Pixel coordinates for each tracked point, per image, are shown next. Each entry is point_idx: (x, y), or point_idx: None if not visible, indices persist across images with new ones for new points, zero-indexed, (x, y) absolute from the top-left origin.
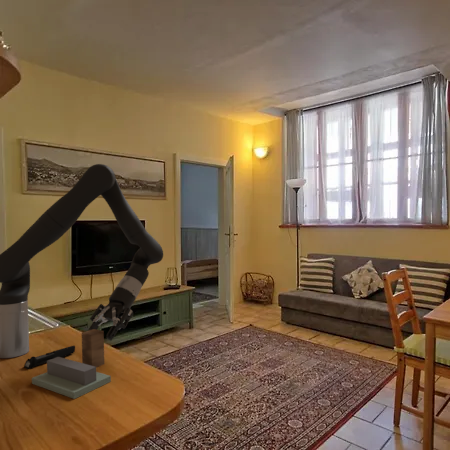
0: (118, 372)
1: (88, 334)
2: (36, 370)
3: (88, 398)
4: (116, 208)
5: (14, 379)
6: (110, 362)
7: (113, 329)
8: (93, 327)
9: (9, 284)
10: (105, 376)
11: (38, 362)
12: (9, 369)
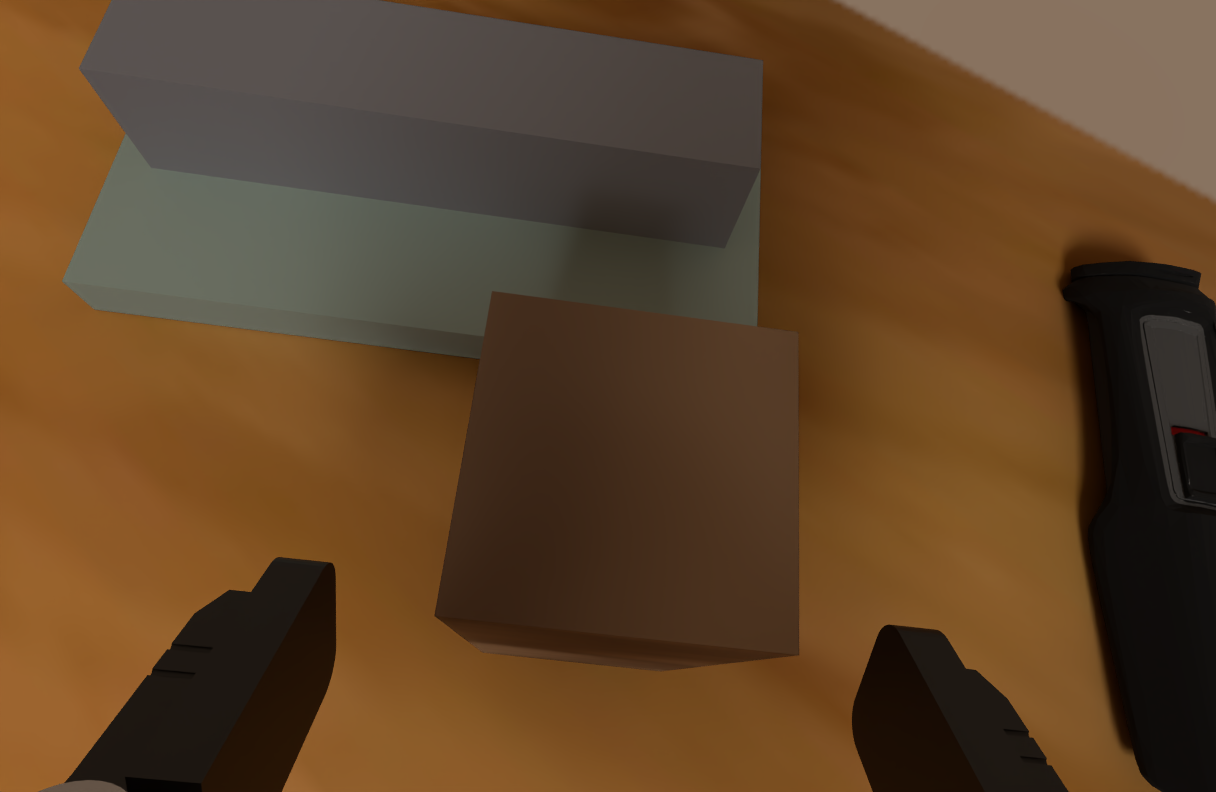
0: (143, 512)
1: (578, 304)
2: (985, 277)
3: None
4: None
5: (949, 112)
6: (444, 728)
7: (141, 729)
8: (944, 781)
9: None
10: (112, 254)
11: (1102, 336)
12: (1203, 223)
